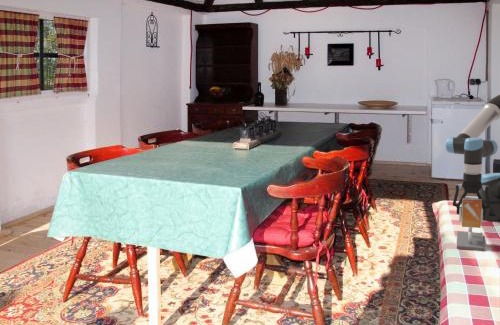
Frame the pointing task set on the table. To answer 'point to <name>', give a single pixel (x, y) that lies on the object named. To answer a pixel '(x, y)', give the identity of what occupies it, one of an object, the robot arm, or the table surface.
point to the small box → (471, 212)
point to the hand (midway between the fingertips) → (470, 221)
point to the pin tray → (474, 241)
